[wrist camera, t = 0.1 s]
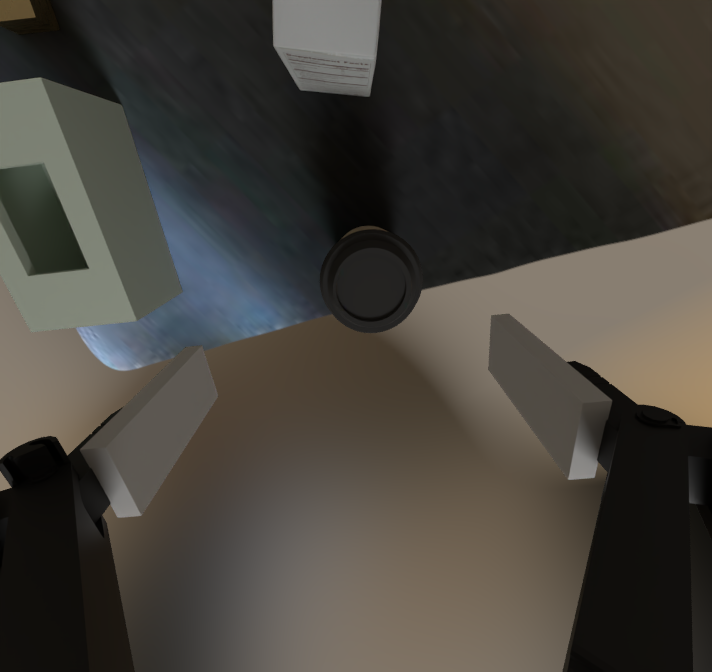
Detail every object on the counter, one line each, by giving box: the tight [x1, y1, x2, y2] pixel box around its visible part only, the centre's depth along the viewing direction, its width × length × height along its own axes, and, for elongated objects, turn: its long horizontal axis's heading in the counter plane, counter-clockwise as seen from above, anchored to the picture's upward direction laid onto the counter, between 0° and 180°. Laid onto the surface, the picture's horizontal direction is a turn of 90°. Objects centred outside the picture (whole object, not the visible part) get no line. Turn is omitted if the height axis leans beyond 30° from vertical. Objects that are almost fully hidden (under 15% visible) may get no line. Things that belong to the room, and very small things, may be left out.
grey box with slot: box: [0, 77, 183, 332], centre depth 35 cm, size 20×11×10 cm, turn 6°
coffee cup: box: [320, 226, 423, 333], centre depth 35 cm, size 9×9×15 cm
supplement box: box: [272, 0, 382, 97], centre depth 28 cm, size 7×7×13 cm
